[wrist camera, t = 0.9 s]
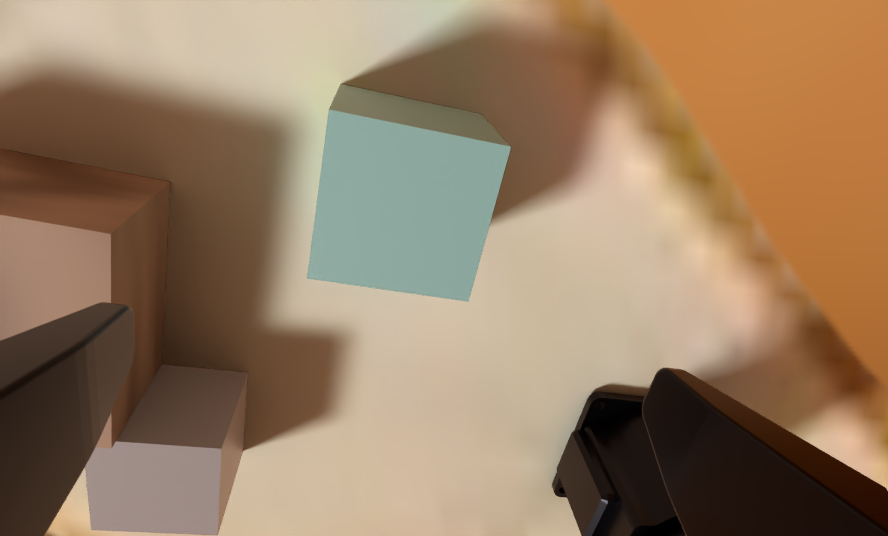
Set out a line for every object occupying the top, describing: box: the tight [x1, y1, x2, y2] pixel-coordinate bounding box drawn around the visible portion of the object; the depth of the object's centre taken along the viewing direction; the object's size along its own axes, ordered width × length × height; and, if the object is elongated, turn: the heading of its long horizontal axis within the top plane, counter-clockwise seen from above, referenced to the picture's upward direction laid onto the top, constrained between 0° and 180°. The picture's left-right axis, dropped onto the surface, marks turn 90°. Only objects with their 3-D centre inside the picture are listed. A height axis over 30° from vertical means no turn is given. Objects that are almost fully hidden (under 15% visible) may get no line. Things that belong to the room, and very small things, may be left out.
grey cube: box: [85, 364, 248, 535], centre depth 22 cm, size 4×4×4 cm
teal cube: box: [307, 84, 511, 301], centre depth 18 cm, size 5×5×5 cm
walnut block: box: [0, 149, 170, 449], centre depth 18 cm, size 8×8×5 cm
